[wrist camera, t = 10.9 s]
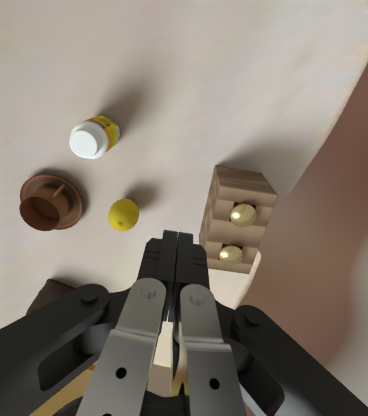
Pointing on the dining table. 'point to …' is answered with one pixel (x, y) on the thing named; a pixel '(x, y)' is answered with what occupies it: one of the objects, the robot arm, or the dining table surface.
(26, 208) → the cup and saucer
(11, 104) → the dining table surface
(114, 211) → the lemon
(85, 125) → the supplement bottle
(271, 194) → the brown wooden block
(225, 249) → the far peg
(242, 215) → the near peg
